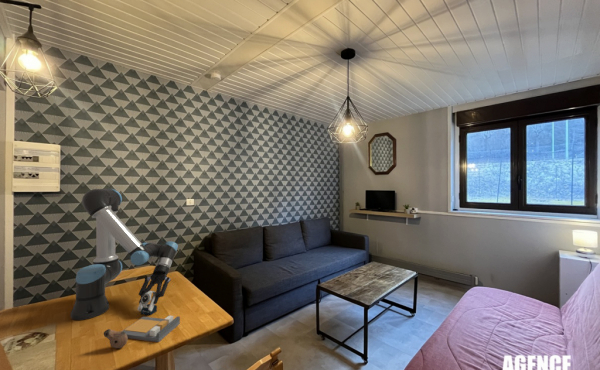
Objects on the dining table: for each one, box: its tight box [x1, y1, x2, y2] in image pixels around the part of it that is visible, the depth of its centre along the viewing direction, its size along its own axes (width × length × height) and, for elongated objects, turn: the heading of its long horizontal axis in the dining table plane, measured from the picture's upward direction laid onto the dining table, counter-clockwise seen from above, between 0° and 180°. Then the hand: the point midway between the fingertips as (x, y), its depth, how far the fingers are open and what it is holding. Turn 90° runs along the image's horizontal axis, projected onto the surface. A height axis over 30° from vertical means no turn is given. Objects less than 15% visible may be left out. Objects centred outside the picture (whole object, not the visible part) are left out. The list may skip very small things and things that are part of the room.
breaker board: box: [122, 315, 181, 343], centre depth 112 cm, size 20×14×4 cm
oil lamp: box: [103, 328, 129, 349], centre depth 100 cm, size 9×4×8 cm, turn 100°
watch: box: [140, 290, 158, 316], centre depth 127 cm, size 6×8×11 cm
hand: (144, 310), depth 123 cm, fingers closed on watch, 5 cm apart
